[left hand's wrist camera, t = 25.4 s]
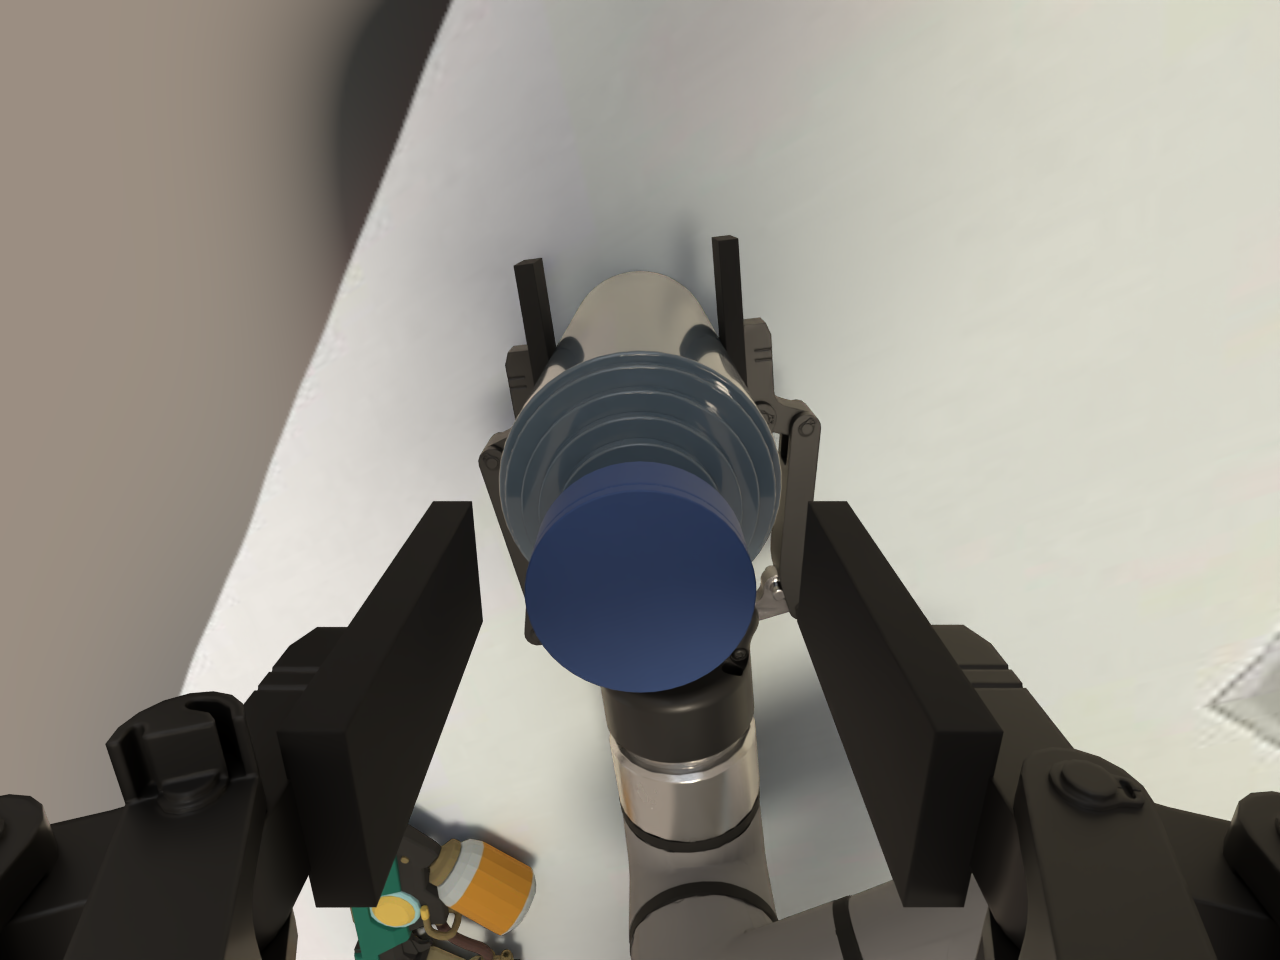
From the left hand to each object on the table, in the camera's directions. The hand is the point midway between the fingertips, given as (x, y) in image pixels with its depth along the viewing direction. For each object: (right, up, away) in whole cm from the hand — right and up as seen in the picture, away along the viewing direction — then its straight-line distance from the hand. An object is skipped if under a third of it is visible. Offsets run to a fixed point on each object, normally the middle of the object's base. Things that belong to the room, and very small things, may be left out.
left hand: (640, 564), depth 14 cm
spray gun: (-14, -27, +36) cm, 48 cm away
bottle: (0, +9, +22) cm, 24 cm away
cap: (0, 0, -1) cm, 1 cm away
